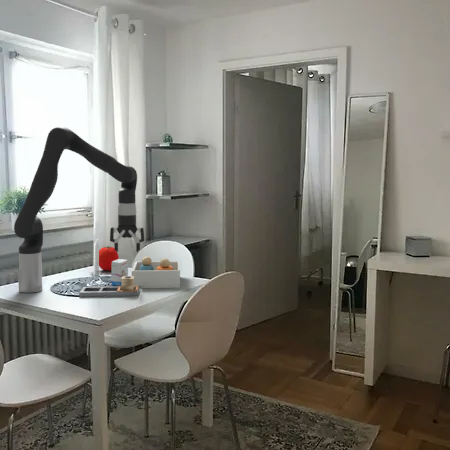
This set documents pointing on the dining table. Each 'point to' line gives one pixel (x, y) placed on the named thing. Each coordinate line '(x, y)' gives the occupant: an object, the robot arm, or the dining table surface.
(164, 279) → the box
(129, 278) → the beige upright block
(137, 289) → the gray sorting tray
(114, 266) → the ink box
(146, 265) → the wooden peg dolls
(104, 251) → the tomato
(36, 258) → the robot arm
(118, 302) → the dining table surface
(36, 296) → the dining table surface
